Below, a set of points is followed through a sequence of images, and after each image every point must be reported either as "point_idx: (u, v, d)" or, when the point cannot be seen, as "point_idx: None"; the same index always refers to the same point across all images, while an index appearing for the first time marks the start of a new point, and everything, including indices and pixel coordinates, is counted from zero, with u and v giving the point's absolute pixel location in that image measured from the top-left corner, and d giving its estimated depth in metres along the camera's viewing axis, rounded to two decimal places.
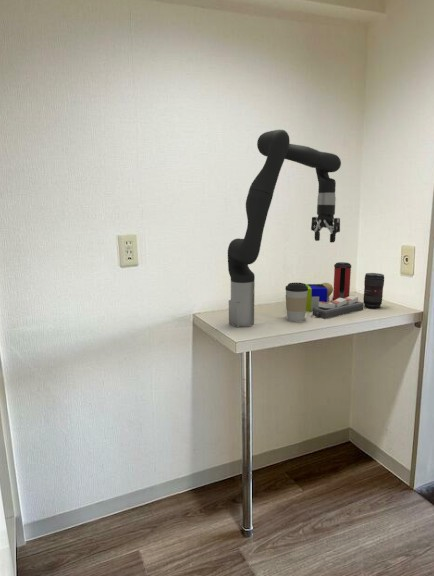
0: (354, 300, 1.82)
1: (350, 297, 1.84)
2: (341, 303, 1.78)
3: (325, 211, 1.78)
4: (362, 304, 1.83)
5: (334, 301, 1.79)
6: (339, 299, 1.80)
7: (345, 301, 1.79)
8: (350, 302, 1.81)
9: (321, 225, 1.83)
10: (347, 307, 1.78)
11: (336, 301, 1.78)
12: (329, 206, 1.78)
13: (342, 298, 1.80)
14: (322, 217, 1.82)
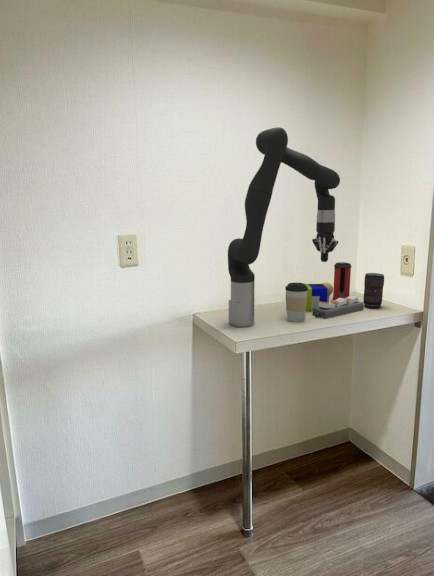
0: (354, 300, 1.82)
1: (350, 297, 1.84)
2: (341, 303, 1.78)
3: (325, 229, 1.75)
4: (362, 304, 1.83)
5: (334, 301, 1.79)
6: (339, 299, 1.80)
7: (345, 301, 1.79)
8: (350, 302, 1.81)
9: None
10: (347, 307, 1.78)
11: (336, 301, 1.78)
12: (329, 224, 1.74)
13: (342, 298, 1.80)
14: (322, 234, 1.79)
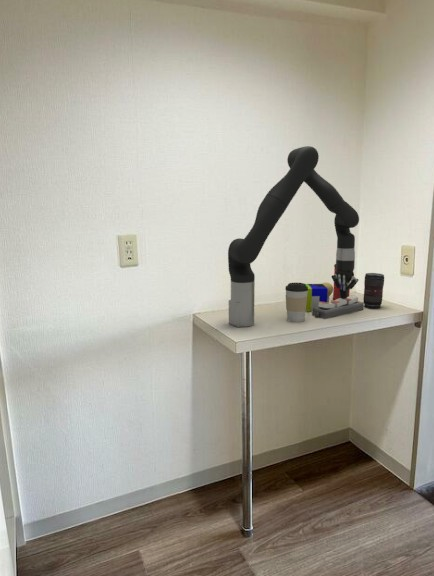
0: (354, 300, 1.82)
1: (350, 297, 1.84)
2: (341, 303, 1.78)
3: (345, 267, 1.74)
4: (362, 304, 1.83)
5: (334, 301, 1.79)
6: (339, 299, 1.80)
7: (345, 301, 1.79)
8: (350, 302, 1.81)
9: None
10: (347, 307, 1.78)
11: (336, 301, 1.78)
12: (349, 262, 1.74)
13: None
14: (341, 272, 1.79)
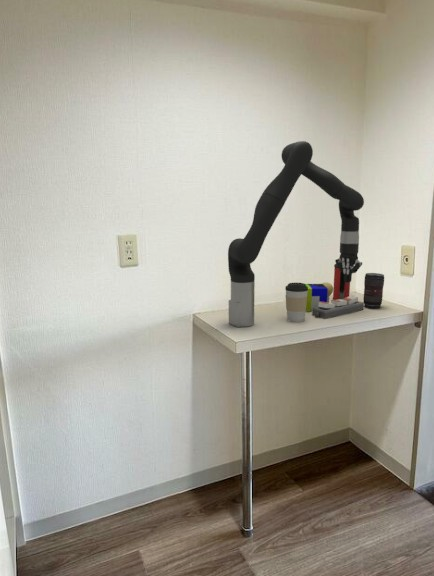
0: (354, 300, 1.82)
1: (350, 297, 1.84)
2: (341, 303, 1.78)
3: (349, 250, 1.74)
4: (362, 304, 1.83)
5: (335, 300, 1.79)
6: (340, 300, 1.81)
7: (345, 302, 1.79)
8: (350, 302, 1.81)
9: None
10: (347, 307, 1.78)
11: (337, 300, 1.78)
12: (353, 245, 1.73)
13: None
14: (345, 255, 1.78)
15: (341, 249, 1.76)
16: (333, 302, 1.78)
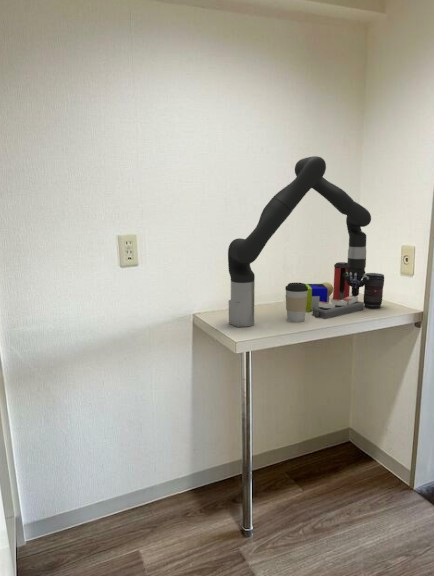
0: (354, 300, 1.82)
1: (350, 297, 1.84)
2: (341, 303, 1.78)
3: (356, 265, 1.78)
4: (362, 304, 1.83)
5: (335, 299, 1.79)
6: (340, 300, 1.81)
7: (345, 303, 1.80)
8: (350, 302, 1.81)
9: None
10: (347, 307, 1.78)
11: None
12: (360, 260, 1.78)
13: (343, 300, 1.81)
14: (353, 270, 1.83)
15: (349, 264, 1.81)
16: (333, 301, 1.78)
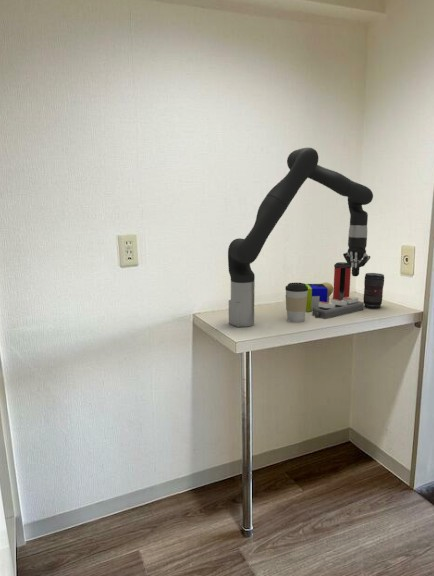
0: (354, 300, 1.83)
1: (351, 297, 1.84)
2: (342, 303, 1.78)
3: (357, 244, 1.76)
4: (362, 304, 1.83)
5: (335, 299, 1.79)
6: None
7: (345, 303, 1.80)
8: (350, 301, 1.81)
9: None
10: (347, 307, 1.78)
11: None
12: (361, 239, 1.76)
13: None
14: (353, 249, 1.80)
15: (349, 243, 1.79)
16: (333, 301, 1.78)
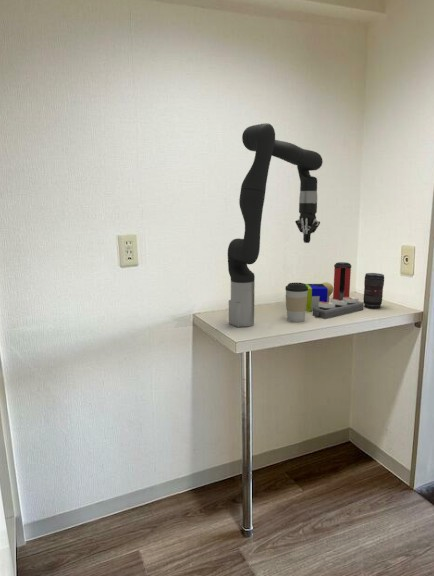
0: (354, 300, 1.83)
1: (351, 297, 1.84)
2: (342, 303, 1.78)
3: (307, 209, 1.77)
4: (362, 304, 1.83)
5: (336, 299, 1.79)
6: (340, 300, 1.81)
7: (345, 303, 1.80)
8: (350, 300, 1.81)
9: None
10: (347, 307, 1.78)
11: None
12: (311, 204, 1.77)
13: None
14: (304, 215, 1.82)
15: (300, 209, 1.80)
16: (334, 301, 1.78)
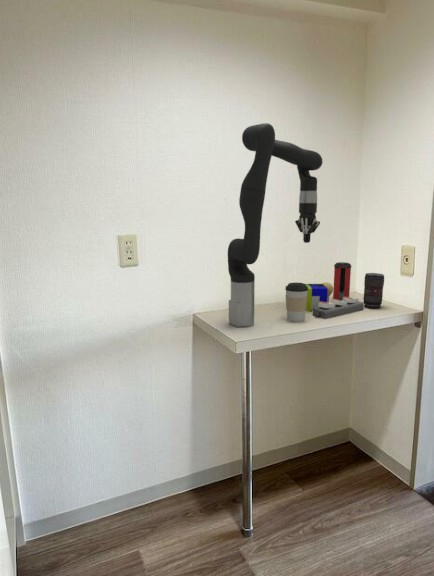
0: (354, 300, 1.83)
1: (351, 297, 1.85)
2: (342, 303, 1.78)
3: (307, 209, 1.77)
4: (362, 304, 1.83)
5: (336, 299, 1.79)
6: (340, 300, 1.81)
7: (345, 303, 1.80)
8: (350, 300, 1.81)
9: None
10: (347, 307, 1.78)
11: None
12: (310, 204, 1.77)
13: None
14: (304, 215, 1.82)
15: (300, 209, 1.80)
16: (334, 301, 1.78)
